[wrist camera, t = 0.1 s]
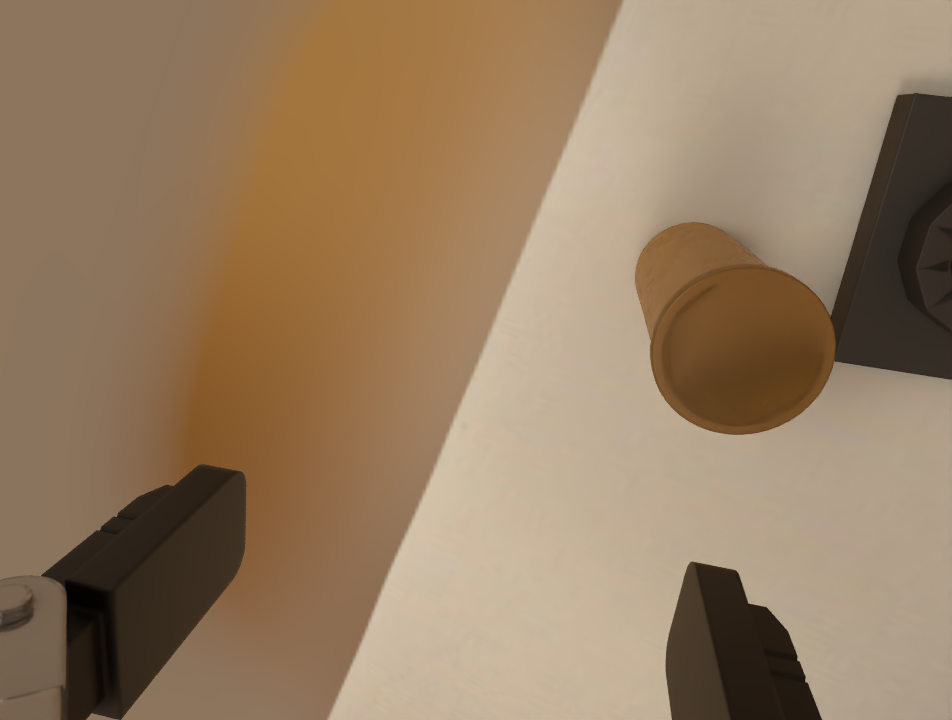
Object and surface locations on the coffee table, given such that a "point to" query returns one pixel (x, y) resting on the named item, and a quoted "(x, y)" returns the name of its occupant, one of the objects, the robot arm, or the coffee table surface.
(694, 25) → the coffee table surface
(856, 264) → the push button panel
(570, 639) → the coffee table surface
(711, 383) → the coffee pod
